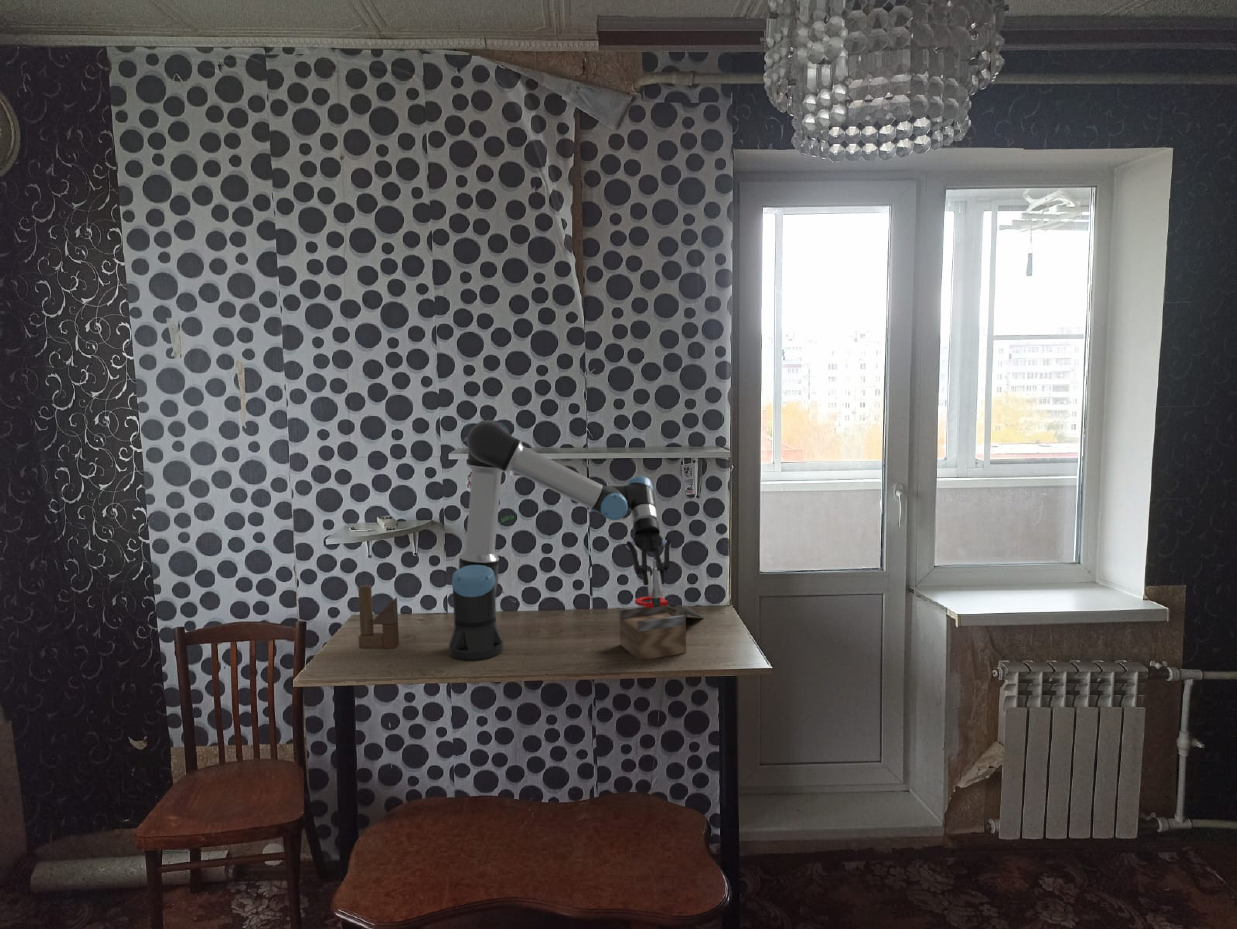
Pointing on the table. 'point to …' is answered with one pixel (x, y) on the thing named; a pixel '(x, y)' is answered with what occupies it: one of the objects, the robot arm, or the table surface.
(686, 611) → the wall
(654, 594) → the tow hook
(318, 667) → the table surface
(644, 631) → the open wooden crate
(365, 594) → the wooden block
